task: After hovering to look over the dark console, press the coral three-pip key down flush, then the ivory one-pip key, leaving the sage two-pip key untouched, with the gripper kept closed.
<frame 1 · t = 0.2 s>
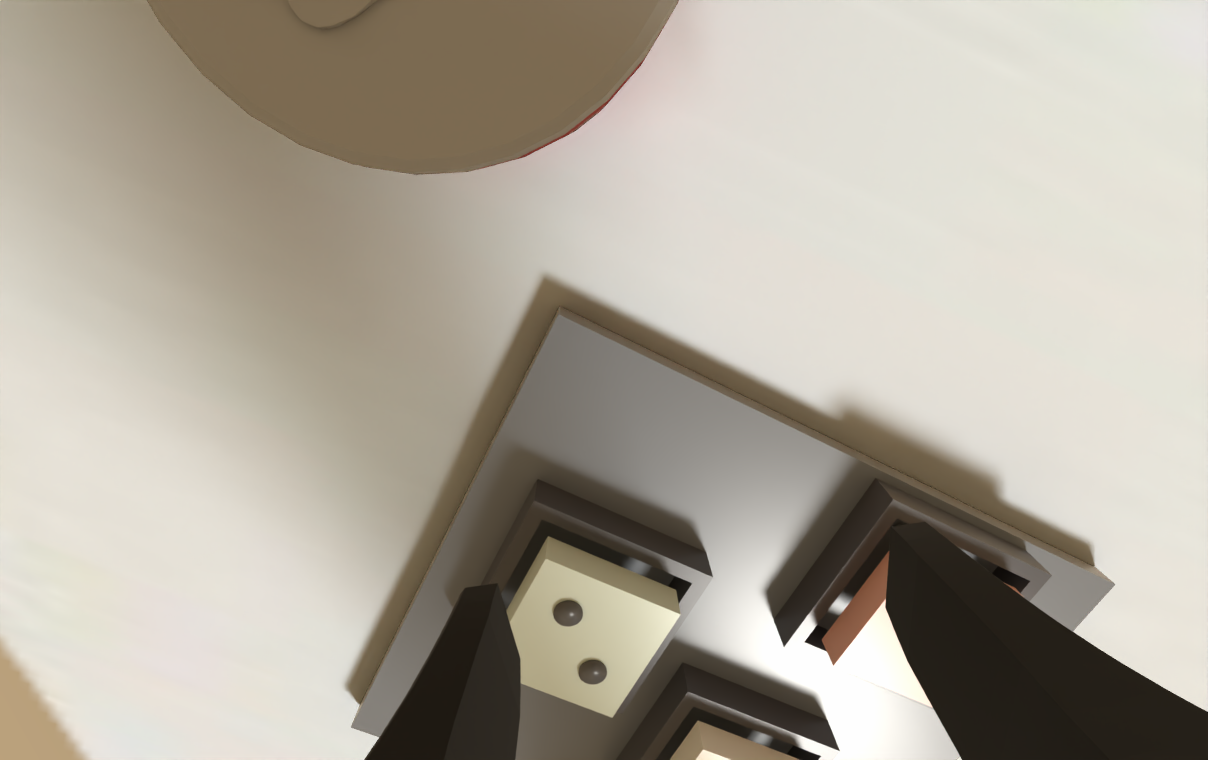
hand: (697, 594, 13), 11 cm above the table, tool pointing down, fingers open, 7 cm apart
key two: (580, 630, 22), point 3 cm above the table, slide at 0.0 cm
key three: (926, 627, 22), point 3 cm above the table, slide at 0.0 cm
canned food: (506, 0, 19), on the table
console: (716, 638, 26), on the table
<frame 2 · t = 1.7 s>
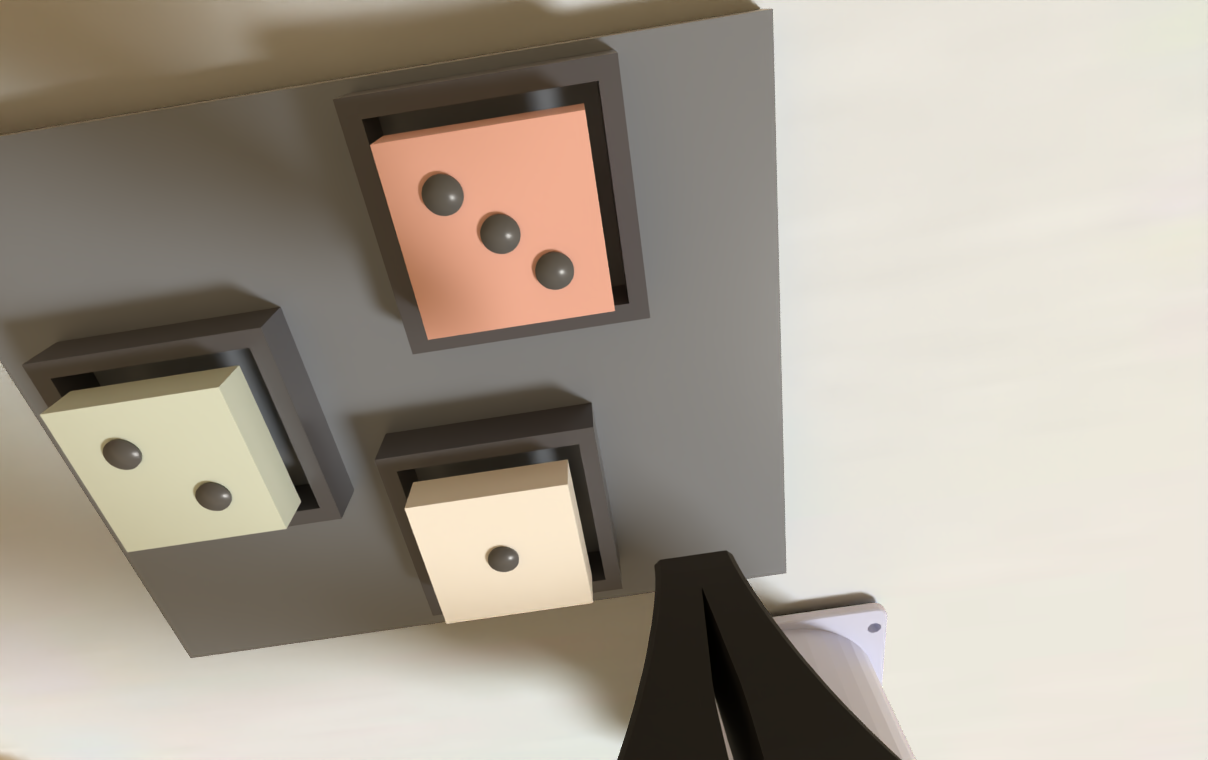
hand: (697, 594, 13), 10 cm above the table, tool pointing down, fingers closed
key two: (180, 462, 19), point 3 cm above the table, slide at 0.0 cm
key three: (502, 226, 16), point 3 cm above the table, slide at 0.0 cm
key one: (505, 545, 21), point 3 cm above the table, slide at 0.0 cm
console: (423, 389, 21), on the table
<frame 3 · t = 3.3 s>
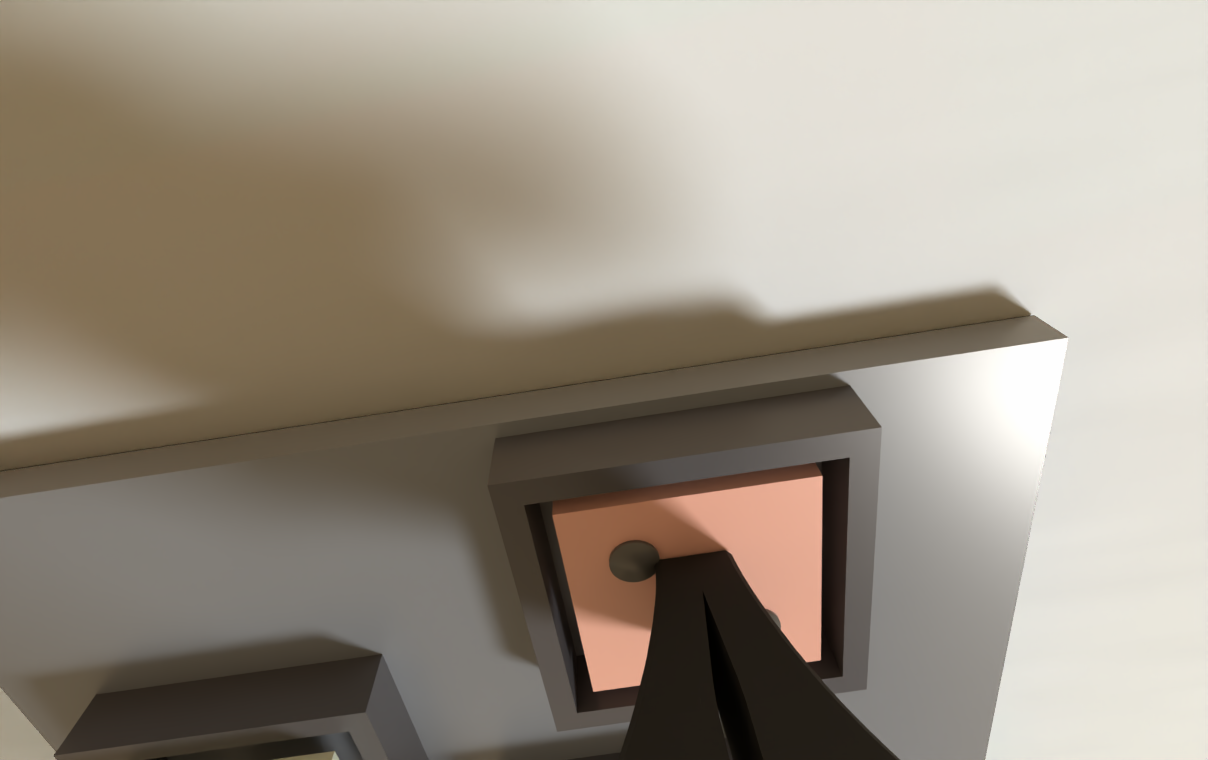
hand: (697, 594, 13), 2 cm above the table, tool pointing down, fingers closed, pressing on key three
key three: (692, 572, 13), point 2 cm above the table, slide at 1.4 cm, touching gripper
console: (543, 705, 17), on the table
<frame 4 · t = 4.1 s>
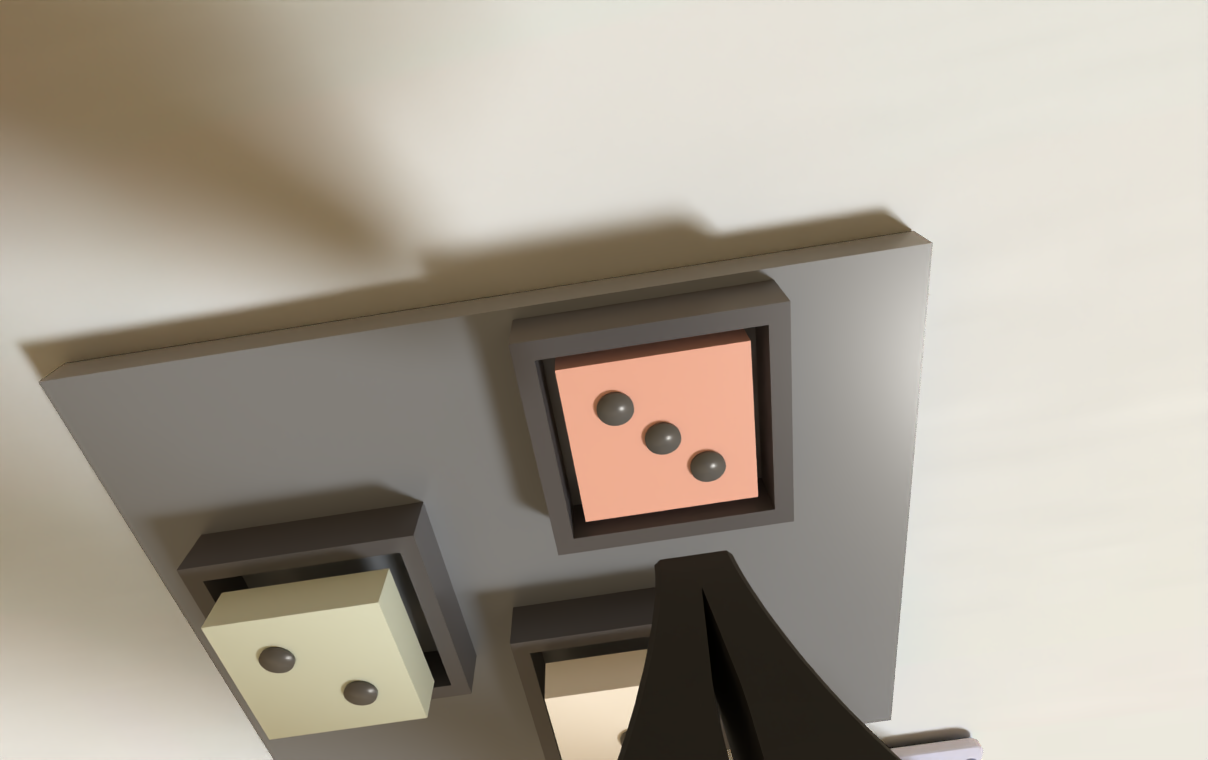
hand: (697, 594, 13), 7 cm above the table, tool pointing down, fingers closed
key two: (326, 658, 19), point 3 cm above the table, slide at 0.0 cm
key three: (660, 425, 18), point 2 cm above the table, slide at 1.4 cm
key one: (633, 721, 21), point 3 cm above the table, slide at 0.0 cm
console: (547, 560, 22), on the table
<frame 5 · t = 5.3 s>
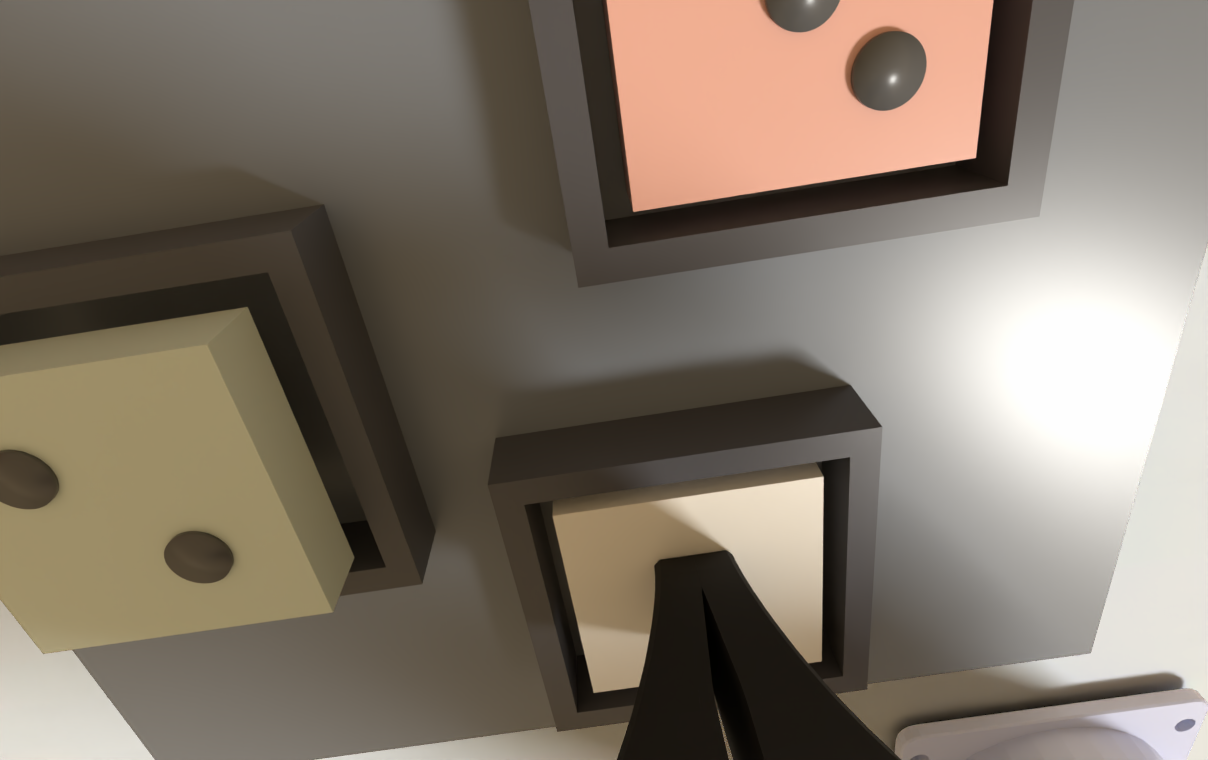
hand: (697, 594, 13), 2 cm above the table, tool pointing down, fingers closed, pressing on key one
key two: (137, 493, 10), point 3 cm above the table, slide at 0.0 cm
key one: (693, 573, 13), point 2 cm above the table, slide at 1.4 cm, touching gripper
console: (554, 363, 13), on the table
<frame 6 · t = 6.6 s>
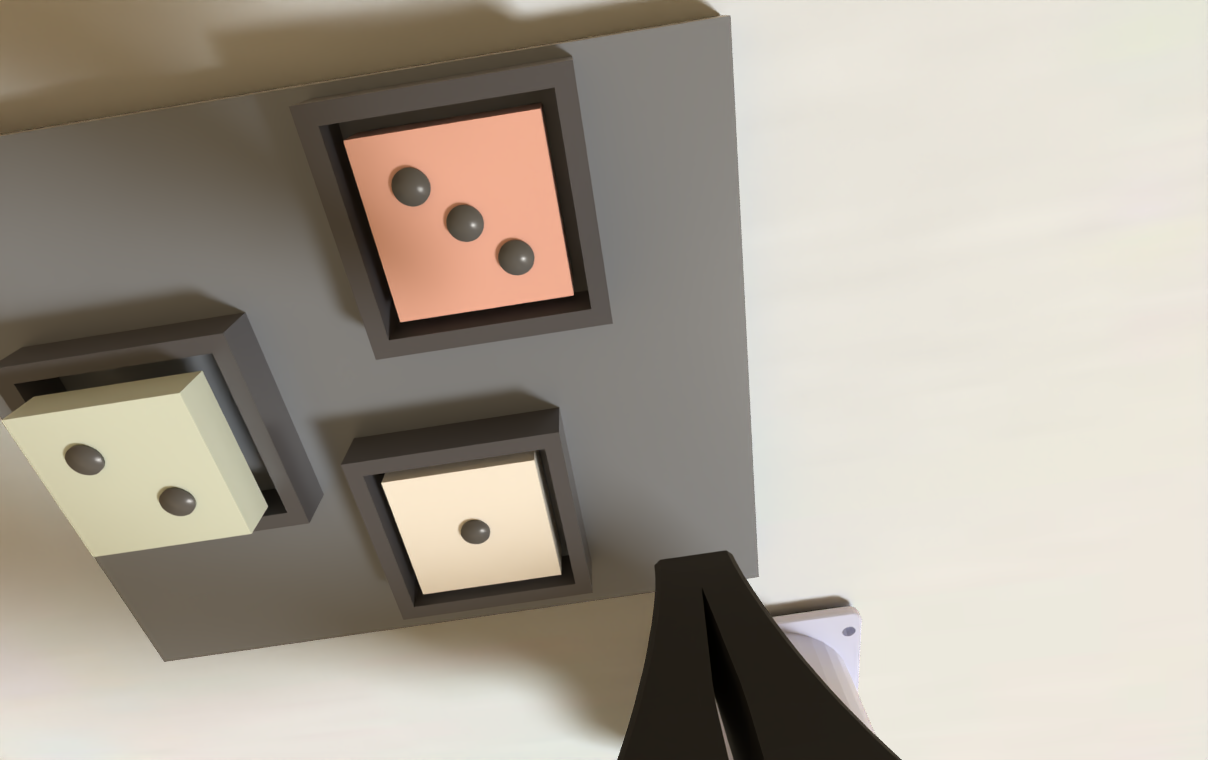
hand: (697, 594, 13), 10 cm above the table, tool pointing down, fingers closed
key two: (144, 468, 19), point 3 cm above the table, slide at 0.0 cm
key three: (468, 216, 17), point 2 cm above the table, slide at 1.4 cm
key one: (477, 519, 22), point 2 cm above the table, slide at 1.4 cm
console: (391, 394, 21), on the table
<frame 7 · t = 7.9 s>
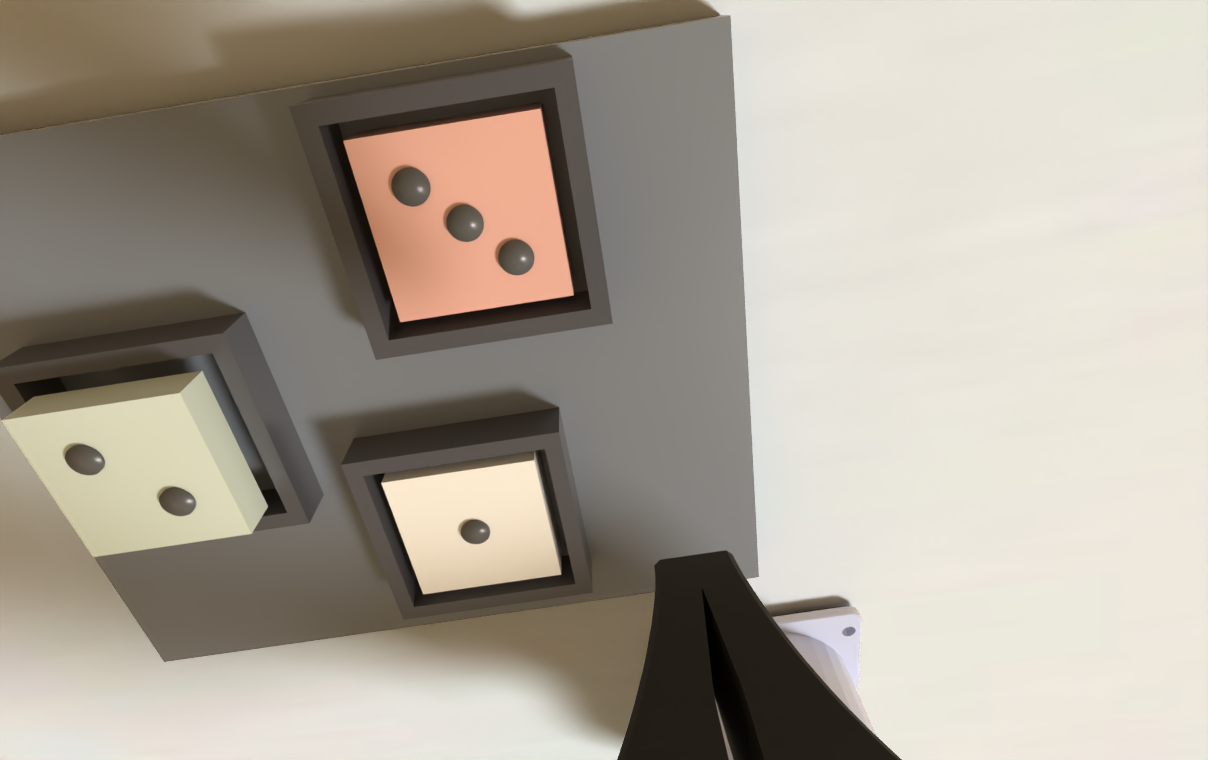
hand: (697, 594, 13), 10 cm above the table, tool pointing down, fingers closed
key two: (144, 468, 19), point 3 cm above the table, slide at 0.0 cm
key three: (468, 216, 17), point 2 cm above the table, slide at 1.4 cm
key one: (477, 519, 22), point 2 cm above the table, slide at 1.4 cm
console: (391, 394, 21), on the table
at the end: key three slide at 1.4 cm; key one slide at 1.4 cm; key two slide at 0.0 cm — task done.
